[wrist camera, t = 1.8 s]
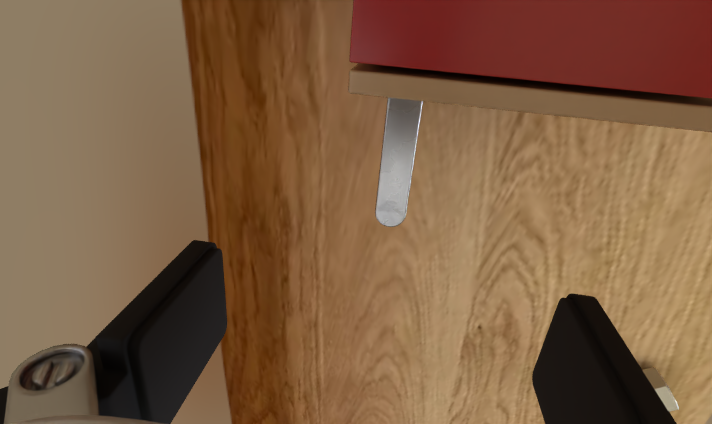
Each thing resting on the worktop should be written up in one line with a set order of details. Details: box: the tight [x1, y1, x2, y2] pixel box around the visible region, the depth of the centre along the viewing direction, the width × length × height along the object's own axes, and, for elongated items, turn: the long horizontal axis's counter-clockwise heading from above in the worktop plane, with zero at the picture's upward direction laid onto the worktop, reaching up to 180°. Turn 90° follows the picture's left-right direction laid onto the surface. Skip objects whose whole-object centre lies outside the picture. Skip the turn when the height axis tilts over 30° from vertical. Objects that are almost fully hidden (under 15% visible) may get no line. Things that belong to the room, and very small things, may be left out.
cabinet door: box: [348, 63, 712, 227], centre depth 22 cm, size 7×14×16 cm, turn 86°
